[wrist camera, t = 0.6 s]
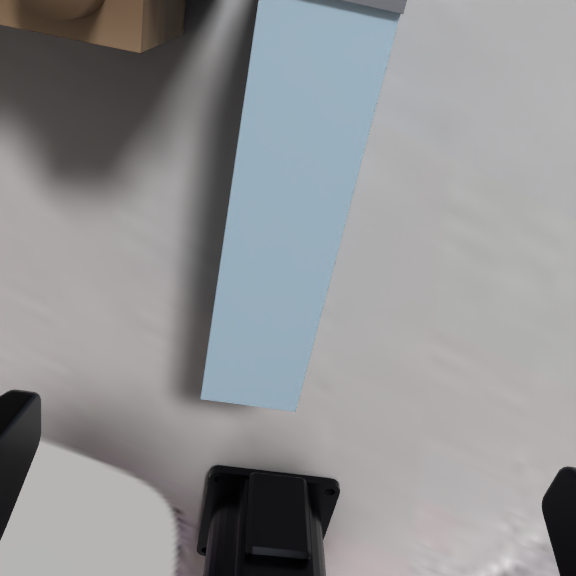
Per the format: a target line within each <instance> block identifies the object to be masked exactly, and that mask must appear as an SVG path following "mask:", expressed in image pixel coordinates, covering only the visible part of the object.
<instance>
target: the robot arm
mask: <svg viewBox="0 0 576 576" xmlns="http://www.w3.org/2000/svg"><path fill="white" fill-rule="evenodd" d="M40 437H41V399H40V396H39V394H37V393H36V392H30V391H23V390H10V391H8V392H6V393H5V394H3V395H1V396H0V540H1V537H2V535H3V533H4V530H5V528H6V526H7V523H8V521H9V518H10V516H11V513H12V511H13V508H14V506H15V503H16V501H17V498H18V496H19V493H20V491H21V488H22V485H23V483H24V480H25V478H26V476H27V473H28V470H29V468H30V465H31V463H32V460H33V458H34V455H35V453H36V450H37V448H38V445H39V441H40ZM219 476H220V477H219ZM339 494H340V488H339V483H338V481H336V480H334V479H330V478H321V477H313V476H304V475H296V474H287V473H279V472H270V471H262V470H253V469H244V468H236V467H227V466H216V467H213V468H212V469H211V471H210V474H209V480H208V486H207V492H206V498H205V503H204V509H203V515H202V521H201V527H200V532H199V538H198V544H197V552H198V553H199V554H200V555H203V556H206V558H205V566H204V574H203V576H326V570H325V559H324V547H323V539H324V537H325V534H326V531H327V528H328V525H329V522H330V520H331V517H332V514H333V511H334V508H335V505H336V502H337V500H338V497H339ZM542 512H543V516H544V519H545V523H546V526H547V530H548V534H549V537H550V541H551V544H552V548H553V551H554V555H555V559H556V562H557V566H558V569H559V573H560V576H576V468H575V467H563V468H562V469H560V470H559V472H558V473H557V475H556V477H555V478H554V480H553V482H552V483H551V485H550V487H549V488H548V490H547V492H546V493H545V495H544V497H543V500H542Z"/></svg>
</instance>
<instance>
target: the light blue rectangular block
mask: <svg viewBox="0 0 576 576" xmlns="http://www.w3.org/2000/svg"><path fill="white" fill-rule="evenodd" d="M406 1H407V0H259V1H258V8H257V15H256V21H255V28H254V35H253V42H252V49H251V56H250V63H249V69H248V76H247V83H246V90H245V97H244V104H243V111H242V117H241V124H240V131H239V138H238V145H237V152H236V159H235V165H234V172H233V179H232V186H231V193H230V200H229V207H228V213H227V220H226V227H225V234H224V241H223V248H222V255H221V261H220V268H219V275H218V282H217V289H216V296H215V303H214V309H213V316H212V323H211V330H210V337H209V344H208V351H207V357H206V364H205V371H204V378H203V385H202V392H201V399H203V400H211V401H218V402H226V403H233V404H241V405H248V406H256V407H264V408H271V409H279V410H286V411H294V412H296V408H297V404H298V400H299V397H300V393H301V389H302V385H303V381H304V378H305V374H306V370H307V366H308V363H309V359H310V355H311V351H312V347H313V344H314V340H315V336H316V332H317V328H318V325H319V321H320V317H321V313H322V309H323V306H324V302H325V298H326V294H327V290H328V287H329V283H330V279H331V275H332V271H333V268H334V264H335V260H336V256H337V252H338V249H339V245H340V241H341V237H342V233H343V230H344V226H345V222H346V218H347V214H348V211H349V207H350V203H351V199H352V195H353V192H354V188H355V184H356V180H357V177H358V173H359V169H360V165H361V161H362V158H363V154H364V150H365V146H366V142H367V139H368V135H369V131H370V127H371V123H372V120H373V116H374V112H375V108H376V104H377V101H378V97H379V93H380V89H381V85H382V82H383V78H384V74H385V70H386V66H387V63H388V59H389V55H390V51H391V47H392V44H393V40H394V36H395V32H396V28H397V25H398V21H399V17H400V14H403V13H404V9H405V5H406Z"/></svg>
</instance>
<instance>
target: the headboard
mask: <svg viewBox="0 0 576 576" xmlns="http://www.w3.org/2000/svg"><path fill="white" fill-rule="evenodd" d="M185 6H186V0H0V25H4V26H9V27H14V28H19V29H24V30H29V31H34V32H39V33H44V34H48V35H53V36H58V37H63V38H68V39H73V40H78V41H83V42H88V43H93V44H98V45H103V46H108V47H113V48H118V49H123V50H127V51H132V52H137V53H142V52H144V51H147V50H149V49H151V48H153V47H156V46H158V45H160V44H162V43H165V42H167V41H169V40H171V39H174V38H176V37H178V36H181V35H183V28H184V17H185Z"/></svg>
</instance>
